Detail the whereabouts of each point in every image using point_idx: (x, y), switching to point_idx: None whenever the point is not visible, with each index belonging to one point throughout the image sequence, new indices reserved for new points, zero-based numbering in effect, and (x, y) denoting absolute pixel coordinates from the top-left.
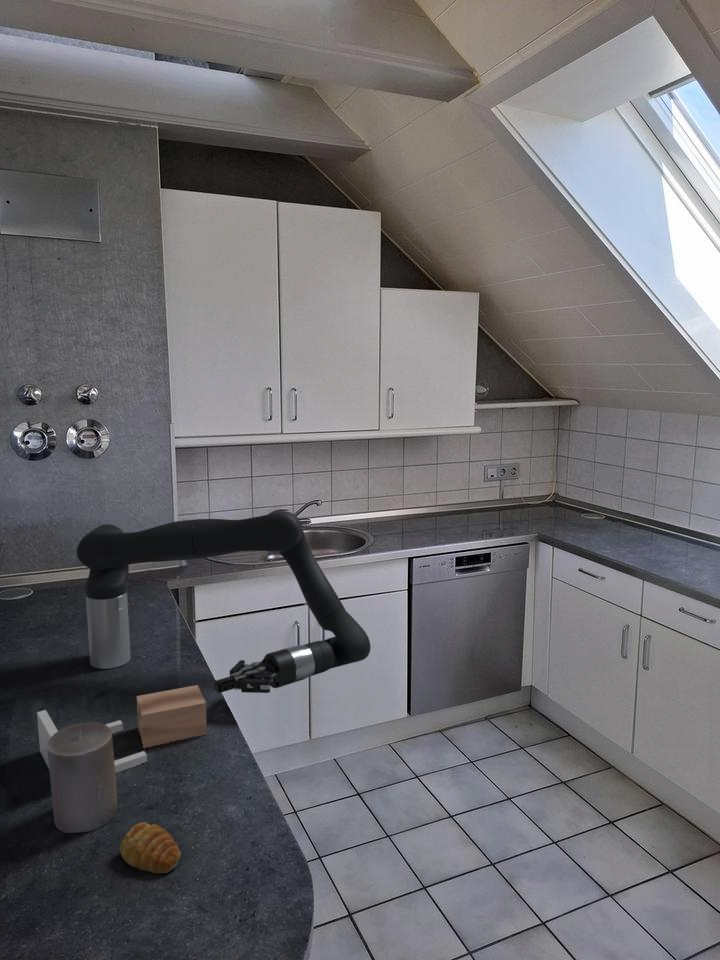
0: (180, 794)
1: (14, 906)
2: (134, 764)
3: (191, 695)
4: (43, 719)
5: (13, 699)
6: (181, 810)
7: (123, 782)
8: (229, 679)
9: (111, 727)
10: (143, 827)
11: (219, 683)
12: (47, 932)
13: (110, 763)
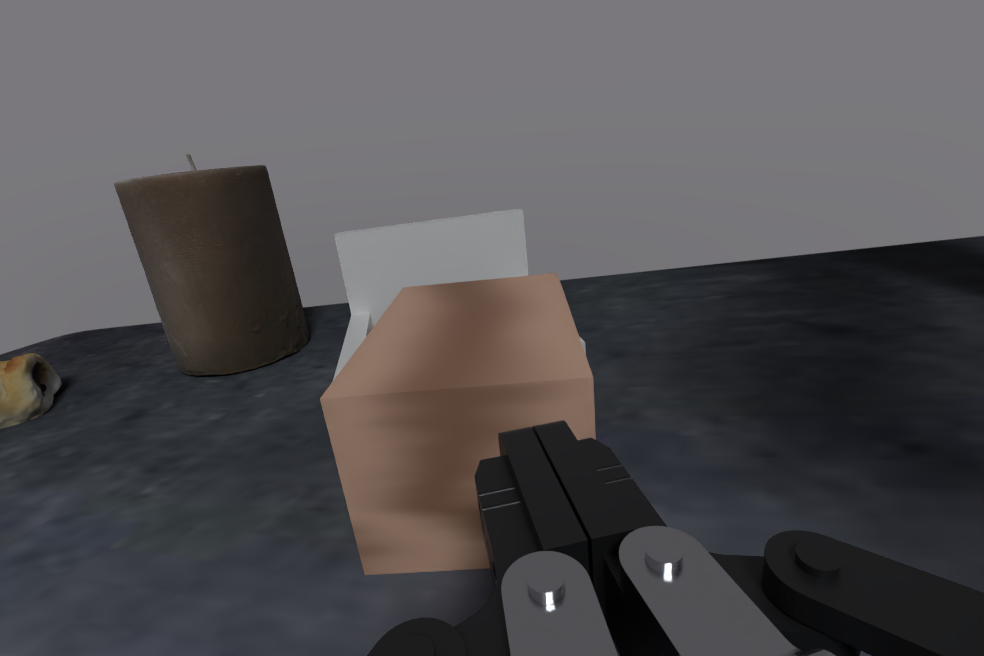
0: (89, 465)
1: (139, 326)
2: None
3: (460, 359)
4: (478, 214)
5: (774, 260)
6: (22, 464)
7: (293, 380)
8: (544, 508)
9: None
10: (6, 368)
11: (500, 439)
12: (44, 347)
13: (142, 246)
